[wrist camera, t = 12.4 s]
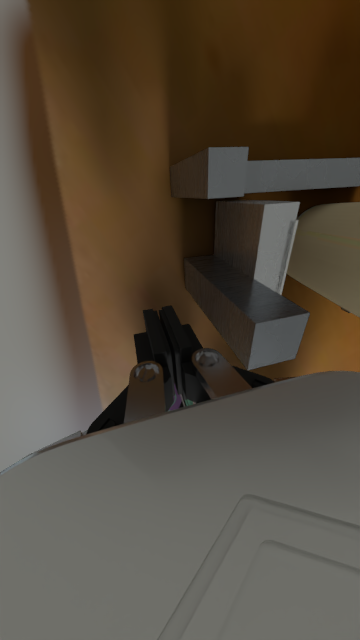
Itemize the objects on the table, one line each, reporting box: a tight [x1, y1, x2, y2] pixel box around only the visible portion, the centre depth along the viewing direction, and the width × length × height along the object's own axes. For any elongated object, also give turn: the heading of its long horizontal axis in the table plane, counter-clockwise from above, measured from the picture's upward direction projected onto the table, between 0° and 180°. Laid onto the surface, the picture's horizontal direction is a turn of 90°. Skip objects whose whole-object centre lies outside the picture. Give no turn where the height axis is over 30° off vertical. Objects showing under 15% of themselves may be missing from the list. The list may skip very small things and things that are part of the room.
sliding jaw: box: [184, 199, 310, 370], centre depth 16 cm, size 12×6×12 cm, turn 2°
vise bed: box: [170, 147, 360, 313], centre depth 20 cm, size 17×27×8 cm, turn 92°
